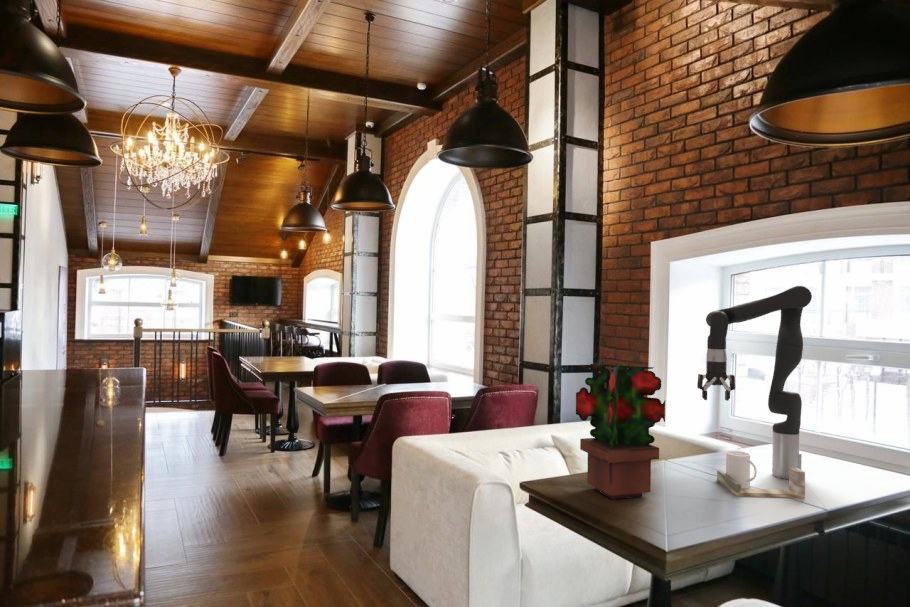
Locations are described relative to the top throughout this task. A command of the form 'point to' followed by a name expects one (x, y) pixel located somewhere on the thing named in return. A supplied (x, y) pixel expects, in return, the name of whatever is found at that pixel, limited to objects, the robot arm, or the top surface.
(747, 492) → the bracket
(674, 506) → the top surface
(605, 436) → the potted plant
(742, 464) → the mug
